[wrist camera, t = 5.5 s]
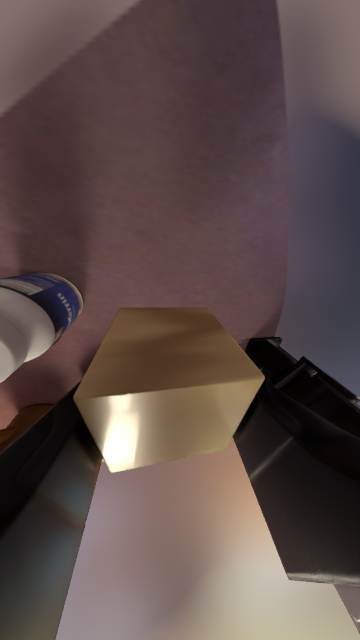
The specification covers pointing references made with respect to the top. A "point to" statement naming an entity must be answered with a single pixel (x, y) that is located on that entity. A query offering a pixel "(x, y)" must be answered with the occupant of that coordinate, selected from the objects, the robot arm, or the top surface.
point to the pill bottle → (33, 316)
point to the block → (165, 387)
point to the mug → (22, 423)
